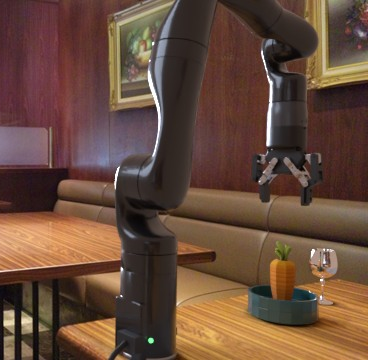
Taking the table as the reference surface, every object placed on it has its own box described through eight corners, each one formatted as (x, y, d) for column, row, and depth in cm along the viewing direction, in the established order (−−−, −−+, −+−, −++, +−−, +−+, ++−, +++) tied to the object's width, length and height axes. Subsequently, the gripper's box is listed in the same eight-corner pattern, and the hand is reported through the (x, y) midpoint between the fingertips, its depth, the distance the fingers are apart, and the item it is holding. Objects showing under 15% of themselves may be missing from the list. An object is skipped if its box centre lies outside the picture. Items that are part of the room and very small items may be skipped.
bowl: (295, 331, 94) (296, 305, 93) (234, 313, 104) (235, 290, 104) (330, 319, 101) (331, 295, 101) (270, 303, 112) (271, 282, 112)
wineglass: (302, 300, 115) (303, 248, 115) (318, 297, 117) (320, 247, 117) (325, 306, 110) (326, 253, 109) (342, 303, 112) (343, 251, 112)
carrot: (298, 318, 100) (300, 244, 99) (271, 316, 101) (273, 243, 100) (291, 311, 105) (293, 240, 104) (266, 309, 106) (267, 240, 105)
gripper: (244, 126, 105) (243, 202, 106) (311, 122, 93) (309, 207, 94) (265, 128, 109) (263, 201, 110) (332, 124, 97) (329, 206, 98)
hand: (284, 204), depth 102 cm, fingers open, 8 cm apart
